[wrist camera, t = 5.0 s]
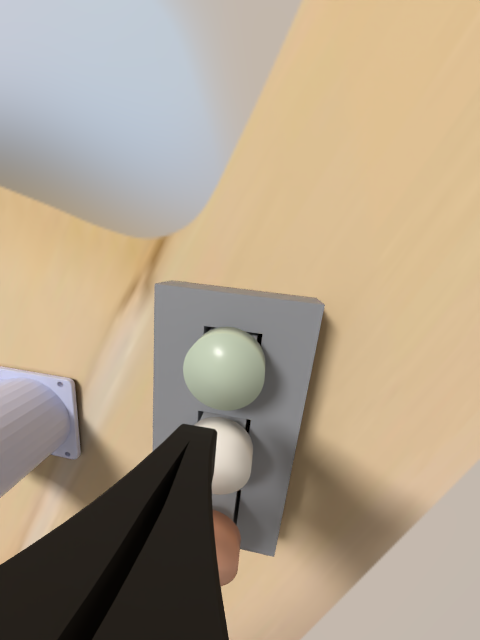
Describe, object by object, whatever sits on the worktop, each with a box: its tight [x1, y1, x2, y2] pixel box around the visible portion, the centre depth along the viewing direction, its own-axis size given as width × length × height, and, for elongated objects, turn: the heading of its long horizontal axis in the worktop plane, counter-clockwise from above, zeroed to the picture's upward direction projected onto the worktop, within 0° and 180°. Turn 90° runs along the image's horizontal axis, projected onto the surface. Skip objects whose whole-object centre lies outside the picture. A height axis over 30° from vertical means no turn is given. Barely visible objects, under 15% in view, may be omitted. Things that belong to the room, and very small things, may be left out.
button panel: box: [153, 281, 325, 557], centre depth 17 cm, size 20×10×2 cm, turn 174°
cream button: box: [194, 412, 253, 495], centre depth 16 cm, size 4×4×4 cm
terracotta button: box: [212, 491, 241, 586], centre depth 16 cm, size 4×4×4 cm
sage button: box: [183, 327, 265, 411], centre depth 14 cm, size 4×4×4 cm
